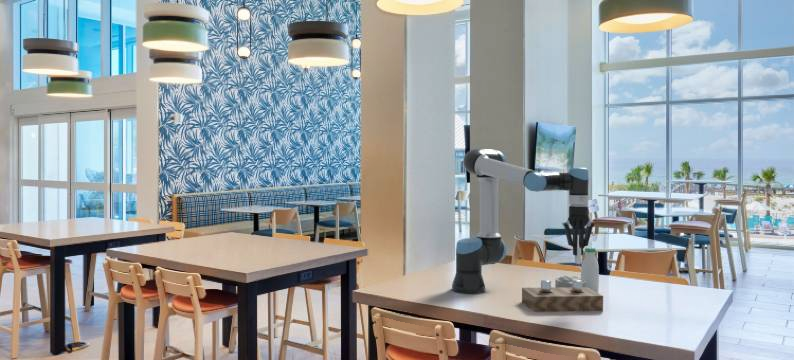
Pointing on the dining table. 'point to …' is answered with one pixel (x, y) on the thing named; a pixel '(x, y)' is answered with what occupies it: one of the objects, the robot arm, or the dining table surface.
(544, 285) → the steel peg
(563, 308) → the walnut block
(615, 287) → the dining table surface
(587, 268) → the milk bottle
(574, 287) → the steel peg
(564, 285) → the lumpy-topped squat cylinder
